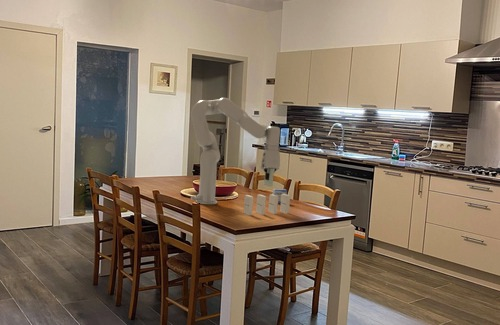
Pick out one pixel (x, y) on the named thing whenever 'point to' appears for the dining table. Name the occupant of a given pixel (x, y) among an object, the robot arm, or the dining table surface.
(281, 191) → the medicine box
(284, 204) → the domino
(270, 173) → the domino
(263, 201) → the domino
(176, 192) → the dining table surface
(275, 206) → the domino
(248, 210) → the domino
